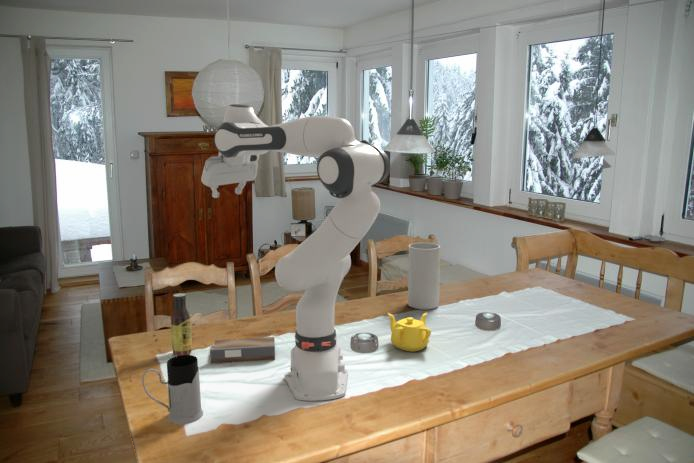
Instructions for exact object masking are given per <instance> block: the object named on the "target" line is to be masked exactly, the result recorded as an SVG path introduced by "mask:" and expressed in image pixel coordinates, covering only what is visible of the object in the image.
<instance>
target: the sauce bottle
mask: <svg viewBox="0 0 694 463" xmlns="http://www.w3.org/2000/svg"><path fill="white" fill-rule="evenodd" d="M172 299H173V310H172V311H171V314H170V330H171V331H170V332H171V335H170V336H171V349H172V354H173V356H174V357H176V356H180V355H190V354H191V353H192V348H193V343H192V342H193V341H192V324H191V321H192V320H191V316H190V314H189V311H188V308H187V304H186V303H187V300H186V299H187V295H186V293H182V292H181V293H180V292H179V293H174V294H173V295H172Z"/></svg>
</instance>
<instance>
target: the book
mask: <svg viewBox="0 0 694 463" xmlns="http://www.w3.org/2000/svg"><path fill="white" fill-rule="evenodd" d="M264 345H275V336H267V337H266V336H265V337H262V336H261V337H248V338H247V337H246V338H230V339H215V340H214V343H213V348H212V349H215V348H231V347H248V346H264ZM275 346H276V345H275ZM273 360H276V354H275V355H270V356H255V357H239V358H223V359H211V358H210V364H211V365H213V364H227V363H230V364H231V363H242V362H243V363H244V362H259V361H273Z"/></svg>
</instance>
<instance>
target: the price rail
mask: <svg viewBox="0 0 694 463" xmlns="http://www.w3.org/2000/svg"><path fill="white" fill-rule="evenodd" d="M275 346H276V345H264V346H248V347H231V348H215V349H213V348H210V349H209V353H210V354H209V355H210V360H211V359H223V358H239V357H255V356H270V355H275V356H276V352H275V351H276V350H275V349H276V347H275Z"/></svg>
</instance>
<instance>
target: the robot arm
mask: <svg viewBox="0 0 694 463" xmlns="http://www.w3.org/2000/svg"><path fill="white" fill-rule="evenodd" d="M213 142H214V143H213V144H214V145H215V148H216V149H217V151H218V155H217V156H213V155H212V156H210V157H209V158H207V159H206V160H205V162H204V167H203V170H202V174H201V178H200V179H201V183H202V184H203V185H204V186H206V187H209V188H210V189H211V191H212V192H211V197H212V198H214V199H217V198H220V194H221V193H220V192H219V191H218V190H217V189H219V186H224V185H232V184H237V183H238V185H237V187H235V188H234V193H235V194H236V195H242V193H243V189H244V187H245V186H246V184H247V182H252V181H255V179H256V178H257V175H258V169H259V168H258V167H259V163H258V161H259V159H260V155H266V154H268V153H270V151H271V152H279V153H283V154H289V155H290V154H291V155H296V156H301V157H309V158H318V160H317V164H316V172H317V176H318V179H319V181H320V182H321V184H322V185H323V187H324V188H325V189H326V190H328V192H329V194H330V195H331V196H332V197H334V198H337V199H338V201H337V203H336V204H335V206H334V207H333V208H332V209H331V211H330V212H329V213H328V215H327V216H326V217H325V218H324V220H323V221H322V222H321V224H320V225H319V227H317V229H316V230H315V231H314V232H313V233H311V234H310V235H309V236H308V237H307V238H306V239H304V240H303V241H302V242H301V243H300V244H299V245H297V247H295V248H293V250H291V251H290V252H289V253H287V254H286V255H284V256H282V257H280V258H279V259H278V261H277V262H276V264H275V267H274V268H275V269H274V275H275V279H276V281H277V283H278V285H279V286H280V287H281V288H282V289H283V290H285V291H288V292H296V291H297V292H298V291H304V293H303V295H302V297H301V298H300V299H299V300H298V301H297V304H296V307H295V314H296V316H295V318H296V330H295V332H294V339H295V341H294V342H295V345H294V346H293V348H292V349H291V350H290V371H288V372H285V374H284V377H283V378H284V380H285V381H286V384H287V385H288V387H289V389H290V391H291V393H292V395H293V397H294V398H295V399H296V400H298V401H306V402H307V401H308V402H309V401H310V402H313V401H314V402H315V401H316V402H317V401H318V402H319V401H328V400H334V399H339V398H343V397H344V396H346V392H347V386H348V379H349V378H348V376H349V370H348V369H346V368H345V367H346V366H345V364H344V363H342V360H344V356H343V354H342V352H341V349H342V348H341V346H339V344H337V332H336V328H335V308H336V307H335V306H336V300H337V296H338V292H339V291H340V290H339V289H340V287H341V284H342V282H343V281H344V278H345V277H346V275H347V274H348V273H349V271H350V269H351V266H352V259H351V255H350V254H351V252H353V250H355V248H356V246H358V244H359V243H360V242H361V241H362V239H363V238H364V237H365V236H366V235H367V233H368V232H369V230H371V227H372V225H374V223H375V221H376V219H377V217H378V215H379V214H380V211H381V202H380V201H381V200H380V198H379V197H378V195H377V193H375V192H374V191H373V190H372V187H373V186H376V185H378V184H380V183H382V182H384V181H385V180H386V179H387V177H388V176H389V174H390V170H391V162H390V159H389V156H388V154H387V153H386V152H385V151H384V150H383V149H381V148H380V147H378V146H375V145H373V144H372V143H370V142H369V141H368V140H365V139H363V140H360V141H358V140H357V139H356V136H355V129H354V127H353V125H352V123H350V121H348V120H347V119H346V118H342V117H338V116H333V115H312V116H305V117H301V118H297V119H293V120H290V121H285V122H281V123H277V124H274V125H270V126H269V125H268V124H266V123H264V122H263V121H262V120H261V119H260V118H259V117H258V116H257V114H256V113H255V110H254V107H252V106H251V105H248V104H240V103H239V104H238V103H237V104H235V103H233V104H229V105H227V108H226V110H225V113H224V117H223V122H222V123H221V124H220V125H219V126H218V127H217V129H216V131H215V134H214V138H213Z"/></svg>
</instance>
